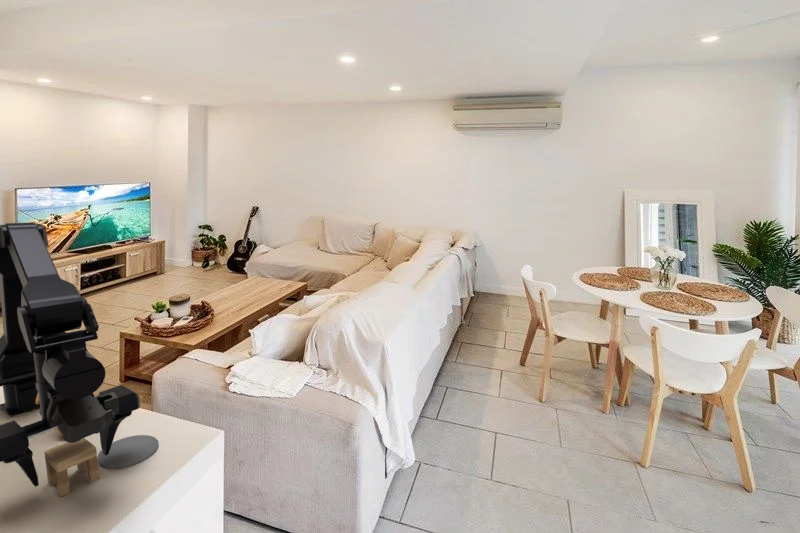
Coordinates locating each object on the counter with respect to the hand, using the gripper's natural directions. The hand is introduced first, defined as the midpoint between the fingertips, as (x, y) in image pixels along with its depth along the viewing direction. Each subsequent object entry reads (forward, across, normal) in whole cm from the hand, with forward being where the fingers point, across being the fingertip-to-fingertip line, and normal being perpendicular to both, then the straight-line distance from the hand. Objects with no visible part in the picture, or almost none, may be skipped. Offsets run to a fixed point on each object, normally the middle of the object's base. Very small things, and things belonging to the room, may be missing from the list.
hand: (72, 468), depth 66 cm
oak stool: (+2, 0, 0) cm, 2 cm away
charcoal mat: (+2, +8, +1) cm, 9 cm away
